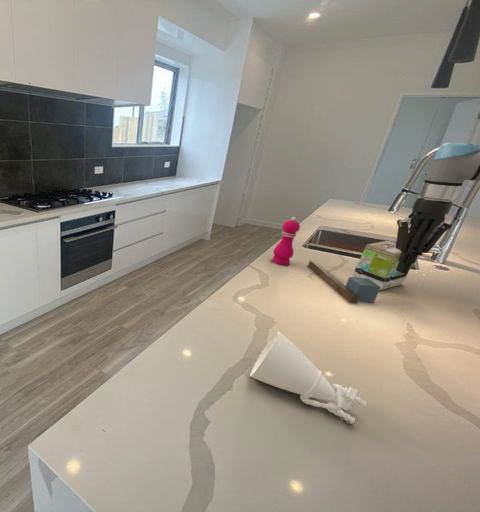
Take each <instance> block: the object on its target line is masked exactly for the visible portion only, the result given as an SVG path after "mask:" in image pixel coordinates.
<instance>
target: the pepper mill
mask: <svg viewBox="0 0 480 512" xmlns="http://www.w3.org/2000/svg"><path fill="white" fill-rule="evenodd" d="M300 229H301V225H300V223H299V222H298V221H297V218H296V217H295V216H292V217H290V220H289V219H288V220H286V221H284V223H282V232H281V235H282V237H281V240H280V242H279V243H278V244H276V246H275V247H274V249H273V251H272V253H273V256H272V260H271V261H272V262H273V263H274V264H277V265H280V266H281V265H282V266H288V265H289V264H290V262H291V260H290V259H291V258H292V257H293V256H294V247H293V241H294V238H296V237H297V232H299V231H300Z"/></svg>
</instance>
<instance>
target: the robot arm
mask: <svg viewBox="0 0 480 512" xmlns="http://www.w3.org/2000/svg"><path fill="white" fill-rule="evenodd" d="M424 178H425V179H424V180H423V183H422V185H421V188H420V190H419V192H418V194H417V196H419V197H417V198H416V199H415V201H414V203H413V205H412V208H411V209H412V212H411V213H410V214H409V215H408V217H406V218H404V219H397V220H396V224H397V227H398V228H397V234H396V241H395V243H396V249H398V250H400V251H401V254H400V257H399V259H398V261H399V264H398V266H397V268H396V270H397V271H399V272H401V273H404V274H407V273H409V272H410V270H411V268H412V266H413V265H414V264H415V263H416V261H417V259H418V258H419V257H421V256H423V255H424V254H428V253H429V252H430V251H431V250H432V248H433V247H434V246H435V245H436V244H437V242H438V241H439V240H440V239H441V237H442V236H443V235H444V234H445V232H447V231H448V230H450V229H451V228H452V227H453V225H452V224H451V223H448V222H446V215H449V213H450V211H451V209H452V207H453V205H454V203H453V201H454V200H456V199H457V197H458V195H459V192H460V191H461V188H462V186H463V184H464V182H465V181H475V182H476V181H479V182H480V143H472V142H470V143H469V142H445V143H443V144H440V146H439V148H438V150H437V152H436V154H435V155H434V157H433V159H432V161H431V164H430V166H429V169H428V170H427V173H426V175H425V177H424ZM412 263H413V265H412ZM411 265H412V266H411ZM410 267H411V268H410ZM409 269H410V270H409ZM408 271H409V272H408ZM407 275H408V274H407Z"/></svg>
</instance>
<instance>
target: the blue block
mask: <svg viewBox="0 0 480 512" xmlns="http://www.w3.org/2000/svg"><path fill="white" fill-rule="evenodd" d="M345 286H347V287H348V288H349V289H350V290H351V291H353V292H354V293H355V294H356V295H358V296H359V297H360V298H359V300H358V302H363V303H371V304H372V303H374V302H375V300H376V298H377V296H378V294H379V292H380V290H379V289H380V286H378V285H377V284H376V283H374V282H373V281H371V280H370V279H366V278H356V277H352V276H349V277H348V279H347V281H346V284H345Z"/></svg>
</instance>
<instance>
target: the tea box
mask: <svg viewBox="0 0 480 512" xmlns="http://www.w3.org/2000/svg"><path fill="white" fill-rule="evenodd" d="M400 254H401V251H400V250H398V249H396V241H395V242H394V241H391V240H385V241H379V242H373V243H366V245H365V247H364V248H363V251H362V253H361V256H360V258H359V260H358V263H357V264H356V267H355V269H354V271H353V273H352V275H351V277H356V278H366V279H370V280H371V281H373V282H374V283H376V284H377V285H378V286H380V289H379V291H383V290H385V289H389V288H393V287H397V286H401V285H403V284H404V281H406V277H407V275H408V273H409V272H410V270H411V268H412V267H413V265H414V264H413V263H412V265H411V267H410V269H409V271H408V273H407V274H404V273H401V272H399V271H397V270H396V268H397V266H398V264H399V261H398V259H399V257H400Z"/></svg>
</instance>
